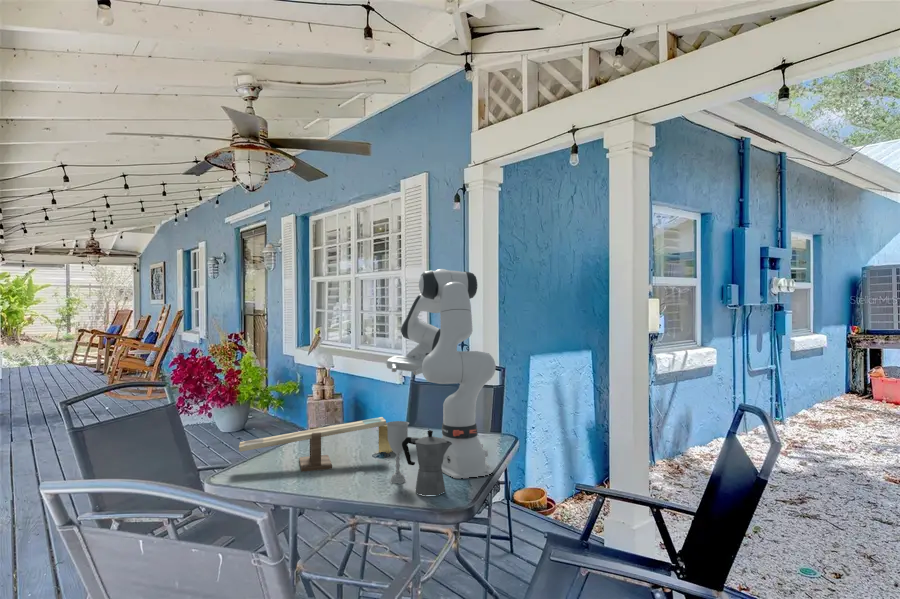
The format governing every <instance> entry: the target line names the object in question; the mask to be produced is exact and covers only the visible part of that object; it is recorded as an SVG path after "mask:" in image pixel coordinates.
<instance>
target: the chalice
mask: <svg viewBox="0 0 900 599" xmlns="http://www.w3.org/2000/svg"><path fill="white" fill-rule="evenodd" d="M409 424H410V422H408V421H402V420H396V421H388V422H386V425H387V427H388V442H389V445H390V447H391V449H392V451H393V452H392V453H394V454H395V460H394V461H395V462H396V463H395V465H394V468H395V472H393V474H392V475H391V477H390V479H389V483H390V482H392V483H391V484H393V483H401V484H404V483H406V482H407V480H406V478H405V475H404V473H403V472H401V471H400V467H401V466H402V465H401V464H400V461H401V457H400V454H401V453H403V452H404V450H403V447H402V442H403V441H404V440H405V439H406V437H409V436H408V435H409V434H408V433H409V432H408V428H409V427H408V426H409ZM405 481H406V482H405ZM403 482H404V483H403Z"/></svg>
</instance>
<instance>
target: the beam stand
mask: <svg viewBox="0 0 900 599" xmlns="http://www.w3.org/2000/svg"><path fill="white" fill-rule="evenodd" d="M317 428H320V427H319V426H310V427H309V430H311V429H317ZM298 461H299V466H300V470H301V471H300V472H301V473H304V472H305V473H306V472H315V471H323V470H325V471H326V470H332V469H333V464H332V463H333V462H331V459H330V456H329V454H322V437H321V432H316V433H312V439H309V455H308V456H300V457H299V460H298Z"/></svg>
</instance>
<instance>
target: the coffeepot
mask: <svg viewBox="0 0 900 599" xmlns="http://www.w3.org/2000/svg"><path fill="white" fill-rule="evenodd" d="M408 444H411V445H415V450H416V456H417V462H418V471H417V476H416V483H415V489H416V490H415V494H416V493H418V494H422V495H439V494H441V493H443V492H445V493H446V487H445V481H444V473H443V472H442V463H443V457H444V454H445V453H446V451H447V449H448V447H449V446H450V445H452V443H451V442H449V441H446V440H445V439H443V438H442V437H437V436H434V435H433V430H431V429H430V430H429V429H428V430H427V436H424V437H414V436H413V437H411V436H408V437H406V439H405V440H404V441H403V442H402V447H403V452H404V456H405V459H406V462H407V464H408V465H409V466H415V464H416V462H414V461H412V456H411V454H410V450H409V446H408ZM418 494H417V495H418Z"/></svg>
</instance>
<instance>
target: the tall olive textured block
mask: <svg viewBox="0 0 900 599" xmlns="http://www.w3.org/2000/svg"><path fill="white" fill-rule="evenodd" d="M381 452H386V453H385V454H390V452H391V453H393V452H392V449H391V447H390V445H389V442H388V427H387V425H385V426H379V427H378V453H381Z"/></svg>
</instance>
